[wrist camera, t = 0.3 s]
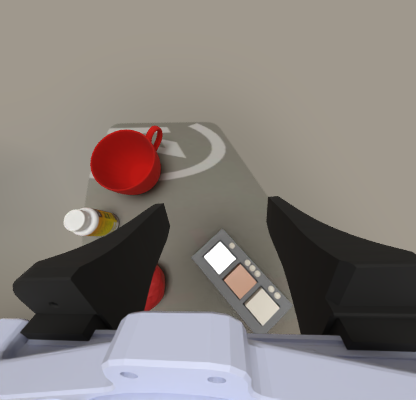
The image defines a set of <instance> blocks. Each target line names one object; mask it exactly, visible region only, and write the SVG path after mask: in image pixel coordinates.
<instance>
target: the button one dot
mask: <svg viewBox="0 0 416 400" xmlns="http://www.w3.org/2000/svg"><path fill="white" fill-rule="evenodd" d="M204 258H205V259H206V260H207V261H208V262H209V263H210V265H211V266H212V267H213V268H214V269H215V270H216V272H217V273H218V274H220V273H221V272H223V271H224V270H225V269H226V268H227V267H228V266H229V265H230V264H231V263H232V262H233V261H234V260H235V259H236V258H235V257H234V256H233V255H232V254H231V253H230V252H229V251H228V249H227V248H226V247H225V246H224V245H223V244H222V243H221V242H219V243H218V244H217V245H216V246H215V247H213V248H212V249H211V250H210V251H209V252H208V253H207V254H206V255H205V256H204Z"/></svg>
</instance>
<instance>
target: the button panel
mask: <svg viewBox="0 0 416 400" xmlns="http://www.w3.org/2000/svg"><path fill="white" fill-rule="evenodd" d="M219 242H221V243H222V244H223V245H224V246H225V247H226V248H227V249H228V251H229V252H230V253H231V254H232V255H233V256H234V257H235V258H236V259H235V260H234V261H233V262H232V263H231V264H230V265H229V266H228V267H227V268H226V269H225V270H224V271H223V272H221V273H220V274H218V273H217V272H216V270H215V269H214V268H213V267H212V266H211V265H210V263H209V262H208V261H207V260H206V259H205V258H204V256H205V255H206V254H207V253H208V252H209V251H210V250H211V249H212V248H213V247H215V246H216V245H217V244H218V243H219ZM191 258H192V259H193V260H194V262H195V263H196V264H197V265H198V266H199V268H200V269H201V270H202V271H203V272H204V274H205V275H206V276H207V277H208V278H209V280H210V281H211V282H212V283H213V284H214V286H215V287H216V288H217V289H218V290H219V292H220V293H221V294H222V295H223V296H224V298H225V299H226V300H227V301H228V302H229V304H230V305H231V306H232V307H233V308H234V310H235V311H236V312H237V313H238V314H239V316H240V317H241V318H242V319H243V320H244V322H245V323H246V324H247V325H248V326H249V328H250V329H251V330H252V331H253V332H254V333H255V334H266V333H267V332H268V331H269V330H270V329H271V328H272V327H273V326H274V325H275V324H276V323H277V322H278V321H279V320H280V319H281V317H282V316H283V315H284V314H285V313H286V312H287V311H288V310H289V309H290V308H291V307H292V306H293V305H292V304H291V303H290V302H289V301H288V300H287V299H286V298H285V296H284V295H283V294H282V293H281V292H280V291H279V290H278V289H277V288H276V287H275V285H274V284H273V283H272V282H271V281H270V280H269V279H268V278H267V277H266V276H265V275H264V273H263V272H262V271H261V270H260V269H259V268H258V267H257V266H256V265H255V264H254V262H253V261H252V260H251V259H250V258H249V257H248V256H247V255H246V254H245V253H244V252H243V250H242V249H241V248H240V247H239V246H238V245H237V244H236V243H235V242H234V241H233V239H232V238H231V237H230V236H229V235H228V234H227V233H226V232H225V231H224V230H223V229H221V230H220V231H219V232H218V233H217V234H216V235H215V236H214V237H212V238H211V239H210V240H209V241H208V242H207V243H206V244H205V245H204V246H203V247H202V248H201V249H200V250H198V251H197V252H196V253H195V254H194V255H193V256H192V257H191ZM239 263H240V264H241V265H242V266H243V267H244V269H245V270H246V271H247V272H248V273H249V274H250V275H251V276H252V277H253V279H254V280H255V281H256V282H257V283H256V284H255V285H254V286H253V287H252V288H251V289H250V290H249V291H248V292H247V293H246V294H245V295H244V296H243V297H242V298H241V299H239V298H238V296H237V295H236V294H235V293H234V292H233V290H232V289H231V288H230V287H229V286H228V285H227V283H226V282H225V281H224V277H225V276H226V275H227V274H228V273H229V272H231V271H232V270H233V269H234V268H235V267H236V266H237V265H238V264H239ZM260 286H261V288H262V289H263V290H264V291H265V292H266V293H267V294H268V295H269V297H270V298H271V299H272V300H273V301H274V302H275V303H276V304H277V305H278V307H279V310H278V311H277V312H276V313H275V314H274V315H273V316H272V317H271V318H270V319H269V320H268V321H267V322H266V323H265V324H264V325H263V326H262V325H261V323H260V322H259V321H258V320H257V319H256V317H255V316H254V315H253V314H252V313H251V312H250V310H249V309H248V308H247V307H246V306H245V304H244V302H245V301H246V300H247V299H248V298H249V297H250V296H251V295H252V294H253V293H254V292H255V291H256V290H257V289H258V288H259V287H260Z"/></svg>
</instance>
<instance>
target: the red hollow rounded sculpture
mask: <svg viewBox="0 0 416 400" xmlns="http://www.w3.org/2000/svg"><path fill="white" fill-rule="evenodd" d="M164 289H165V276H164V273H163V271H162V270H161V269H160V267H159V266H158V265H156V268H155V271H154V274H153V278H152V281H151V285H150V289H149V293H148V297H147V301H146V306H145V310H144V311H150V310H151V309H152V308H154V307H155V306H156V305H157V304H158V303H159V302H160V301H161V299H162V298H163V295H164Z"/></svg>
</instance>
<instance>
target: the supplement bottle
mask: <svg viewBox="0 0 416 400" xmlns="http://www.w3.org/2000/svg"><path fill="white" fill-rule="evenodd" d="M118 225H119V221H118V218H117V217H116V216H115V215H114V214H112V213H109V212H105V211H101V210H96V209H92V208H81V209H79V210H72V211H70V212H69V213H68V214H67V215H66V216H65V218H64V226H65V228H66V229H67V230H69V231H72V232H73V233H75V234H76V235H79V236H106V235H107V234H109V233H111V232H113V231H115V230H117V228H118Z"/></svg>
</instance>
